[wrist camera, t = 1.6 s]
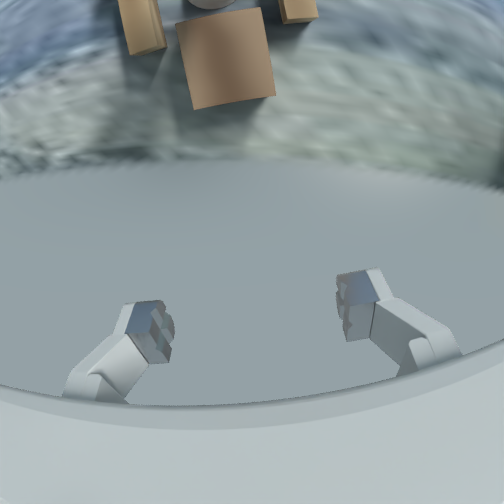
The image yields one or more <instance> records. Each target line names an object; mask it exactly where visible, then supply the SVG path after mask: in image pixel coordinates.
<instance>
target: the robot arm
mask: <svg viewBox="0 0 504 504" xmlns="http://www.w3.org/2000/svg"><path fill="white" fill-rule="evenodd" d="M336 284H337V287H338V291H337V292H336V301H337V309H338V313H339V317H340V318H341V319H342V320H343V331H344V334H345V337H346V340H347V342H348V341H355V340H360V339H366V338H370V340H371V341H373V342H374V343H375V344H376V345H377V346H378V347H380V349H382V350H383V351H384V352H385V353H386V354H387V355H388V356H389V357H391V358H392V359H393V360H394V361H395V362H396V363H397V364H399V365H400V368H399V371H398V373H397V376H396V377H394V378H390V379H386V380H382V381H379V382H375V383H371V384H366V385H361V386H357V387H352V388H347V389H342V390H337V391H332V392H327V393H321V394H316V395H309V396H302V397H295V398H288V399H281V400H271V401H263V402H252V403H239V404H223V405H200V406H199V405H198V406H159V405H134V404H129V403H128V402H127V401H125V400H124V398H125V397H126V395H127V394H128V393H129V391H130V390H131V389H132V387H133V386H134V385H135V383H136V382H137V381H138V379H139V378H140V377H141V375H142V374H143V373H144V371H145V370H146V369H147V367H148V366H149V364H159V363H169V360H170V355H171V350H172V348H171V347H170V345H169V343H170V342H171V341H172V340H173V339H174V334H175V332H174V323H173V320H172V318H171V316H170V315H168V314H167V313H166V312H165V310H166V306H165V305H164V303H163V301H161V300H155V301H144V302H135V303H126V304H124V305H123V307H122V310H121V312H120V315H119V318H118V321H117V323H116V326H115V328H114V331H113V334H112V335H109V336H107V338H105V339H104V340H103V341H102V342H101V343H100V344H99V345H98V346H97V347H96V348H95V349H94V350H93V351H92V352H90V353H89V354H88V355H87V356H86V357H85V358H84V359H83V360H82V361H81V362H80V363H79V364H78V365H77V366H76V367H75V368H74V369H73V370H72V371H71V372H70V375H69V377H68V380H67V383H66V385H65V388H64V391H63V394H62V397H59V396H52V395H47V394H41V393H36V392H31V391H27V390H21V389H17V388H13V387H9V386H5V385H1V384H0V504H504V339H502V340H500V341H497V342H496V343H493V344H490V345H488V346H486V347H484V348H481V349H478V350H476V351H473V352H471V353H468V354H466V355H462V353H461V351H460V349H459V347H458V345H457V343H456V341H455V339H454V337H453V335H452V333H451V331H450V330H449V328H447V327H446V326H444V325H443V324H441V323H439V322H438V321H436V320H435V319H433V318H431V317H430V316H428V315H427V314H425V313H423V312H422V311H420V310H418V309H417V308H415V307H413V306H412V305H410V304H408V303H407V302H405V301H403V300H402V299H400V298H394V296H393V294H392V292H391V290H390V288H389V286H388V284H387V282H386V280H385V279H384V276H383V275H382V273H381V271H380V269H379V268H378V267H375V268H370V269H365V270H361V271H356V272H350V273H344V274H339V275H337V277H336Z"/></svg>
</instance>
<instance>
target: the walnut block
mask: <svg viewBox="0 0 504 504" xmlns="http://www.w3.org/2000/svg"><path fill="white" fill-rule="evenodd" d="M175 25H176V30H177V35H178V40H179V45H180V49H181V54H182V59H183V63H184V68H185V72H186V77H187V82H188V86H189V91H190V95H191V99H192V104H193V108H194V110H197V109H201V108H206V107H211V106H215V105H221V104H226V103H231V102H237V101H243V100H249V99H255V98H262V97H269V96H276V91H275V85H274V79H273V73H272V67H271V61H270V55H269V50H268V44H267V38H266V33H265V28H264V22H263V17H262V12H261V7H257V8H249V9H242V10H236V11H230V12H224V13H219V14H214V15H209V16H205V17H200V18H196V19H192V20H188V21H184V22H180V23H176V24H175Z"/></svg>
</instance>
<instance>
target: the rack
mask: <svg viewBox="0 0 504 504" xmlns="http://www.w3.org/2000/svg"><path fill="white" fill-rule="evenodd" d="M118 3H119V8H120V13H121V18H122V23H123V27H124V32H125V36H126V41H127V45H128V50H129V54H130V55H141V56H142V55H145V54H148V53H151V52H154V51H157V50H160V49H163V48H166V47H167V44H166V40H165V35H164V31H163V26H162V22H161V17H160V13H159V8H158V4H157V0H118ZM278 3H279V7H280V12H281V17H282V22H283V24H289V23H302V22H311V21H313V20H315V19H316V18H318V12H317V8H316V3H315V0H278Z"/></svg>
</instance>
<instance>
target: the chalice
mask: <svg viewBox="0 0 504 504" xmlns="http://www.w3.org/2000/svg"><path fill="white" fill-rule="evenodd" d="M234 1H235V0H189V2H190V3H192V4H193V5H195V6H197V7H199V8H203V9H218V8H222V7H226V6H227V5H229V4H231V3H233V2H234Z"/></svg>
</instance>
